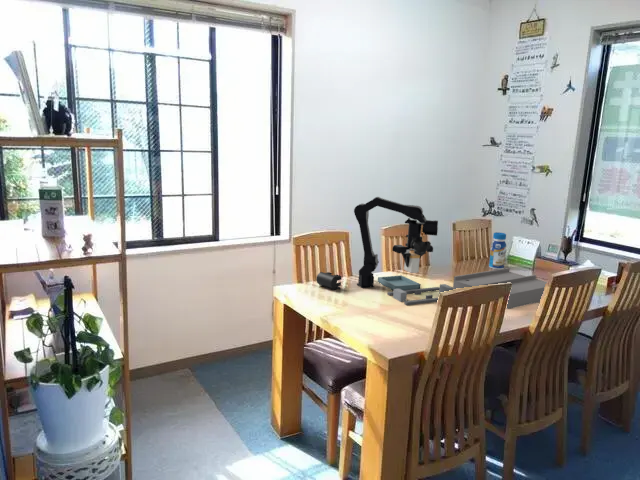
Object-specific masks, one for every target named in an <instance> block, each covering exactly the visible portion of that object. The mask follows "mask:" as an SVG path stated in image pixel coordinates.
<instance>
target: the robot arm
mask: <svg viewBox="0 0 640 480" xmlns="http://www.w3.org/2000/svg"><path fill="white" fill-rule="evenodd" d="M376 207H380V208H384V209H386V210H390V211H392V212H397V213H400V214H402V215H405V217H407V220H405V221H404V223H405V224H408V227H407V228H408V232H407V234H406V235H405V238H407V240H406V241H407V242H406V243H405V244H404V245H402V244H394V245H393V246H392V252H394V253H397V254H401V256H402V258H403V260H404V264H406V266H407V267H409V257H410V255H411V253H412V251H413V253H415V254H417V255H420V259H422V257H423V255H426V254H427V253H433V252H434V247H433V245H431V244H432V243H431V241H429V240H427V241H423V236H421V234H422V233H423V234H424V235H426V236H434V237H436V236H438V233H439V232H438V231H439V220H430V219H429V220H428V219H427V218H426V217H425V215H424V210H423V207H421V206H419V205H413V204H403V203H399V202H396V201H392V200H389V199H385V198H383V197H380V196H376V197H374V198H373V199H371V200H369V201H367V202H366V203H359V204H358V205H356V206H355V207H354V208H353V214H354V216H355V218H356V221H357V223H358V225H359V230H360V231H359V232H360V235H361V237H360V238H361V242H362V247H363V266H361V267H360V269H359V270H358V283H356V286H358V287H360V288H363V289H367V288H368V289H369V288H375V285H374V282H375V277H374V273H373V272H374V271H375V270H376V269H377V268H378V266H379V263H380V260H379V259H378V256H379V255H378V254H377V253H376V254H375V252H374V250H373V244H372V239H371V233H370V227H369V214H370V213H369V212H370V211H371V210H372V209H375V208H376Z"/></svg>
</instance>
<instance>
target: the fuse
mask: <svg viewBox="0 0 640 480" xmlns="http://www.w3.org/2000/svg"><path fill="white" fill-rule="evenodd" d="M410 253H411V255H410V257H409V267H407V266H406V264H405V263H404V265H403V266H404V267H403V270H404V271H406V272H408V273H411V274H414V273H415V274H416V273H419V271H420V260H421V258H420V255H417V254H415V253H414V252H410Z"/></svg>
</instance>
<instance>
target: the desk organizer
mask: <svg viewBox="0 0 640 480" xmlns="http://www.w3.org/2000/svg"><path fill="white" fill-rule="evenodd" d="M510 269H511V268H510V267H506V268H505V267H504V268H503V269H493V270H487V271H480V272H475V273H468V274H460V275H455V276H453V283H452V284H453V285H452V287H453V289H456V288H464V287H472V286H479V285H488V284H498V283H507V282H511V283H512V289H511V292H510V296H509V300H508V304H507V308H506V309H507V310H510V309H515V308H519V307H523V306H527V305H532V304H537V303H541V302H540V299H541V296H542V294H543V291H544V287H545V284H546V283H547V282H548V281H544V280H541V279H537V274H532V275H523V274H519V273H516V272H512V271H511V270H510Z"/></svg>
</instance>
